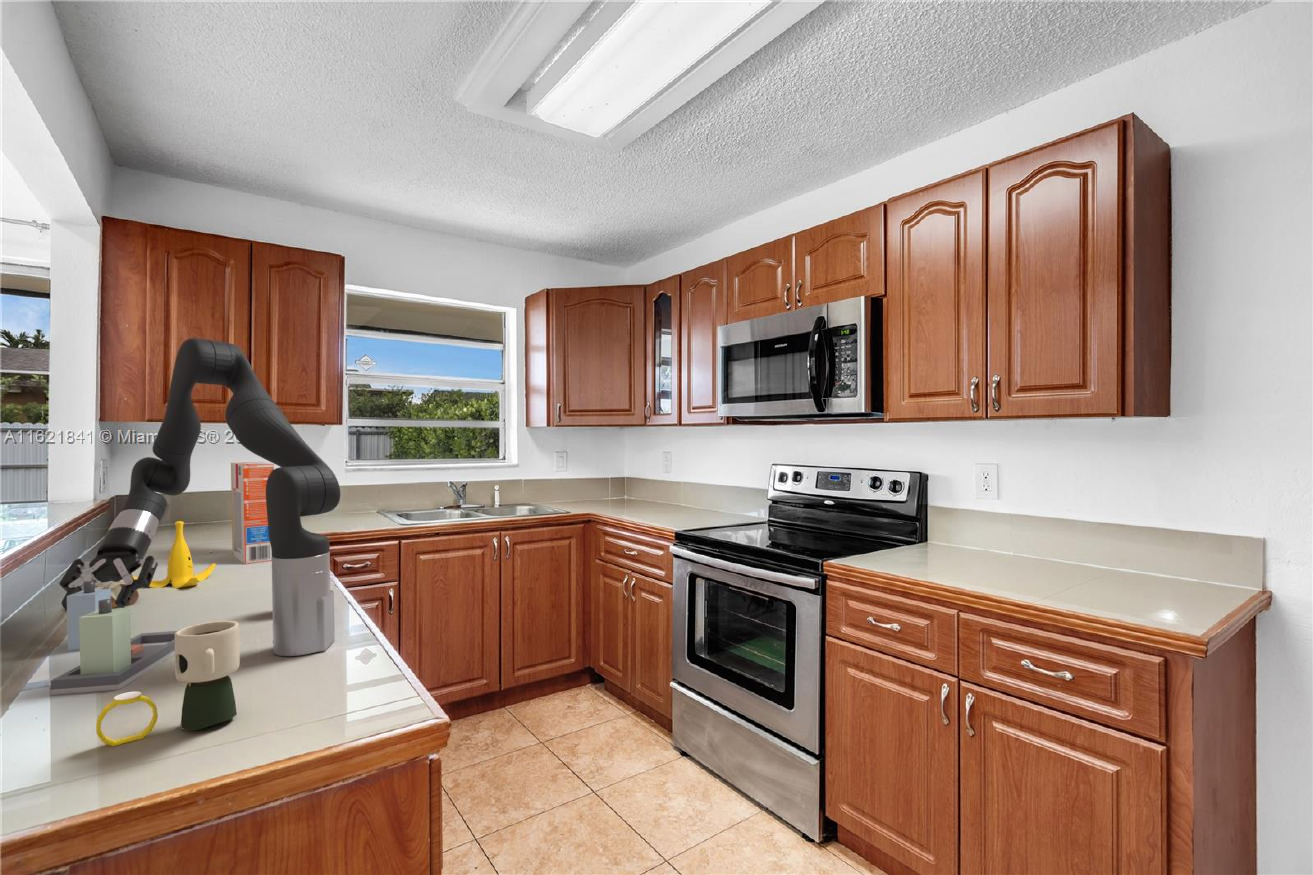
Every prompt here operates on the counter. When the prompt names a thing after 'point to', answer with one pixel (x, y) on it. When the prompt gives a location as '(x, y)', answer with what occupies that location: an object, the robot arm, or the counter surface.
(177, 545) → the banana peel
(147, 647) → the grey rimmed tray
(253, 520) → the pasta box
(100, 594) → the plug
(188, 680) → the character mug
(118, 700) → the watch
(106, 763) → the counter surface
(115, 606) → the bread
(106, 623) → the green knobbed block
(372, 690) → the counter surface
